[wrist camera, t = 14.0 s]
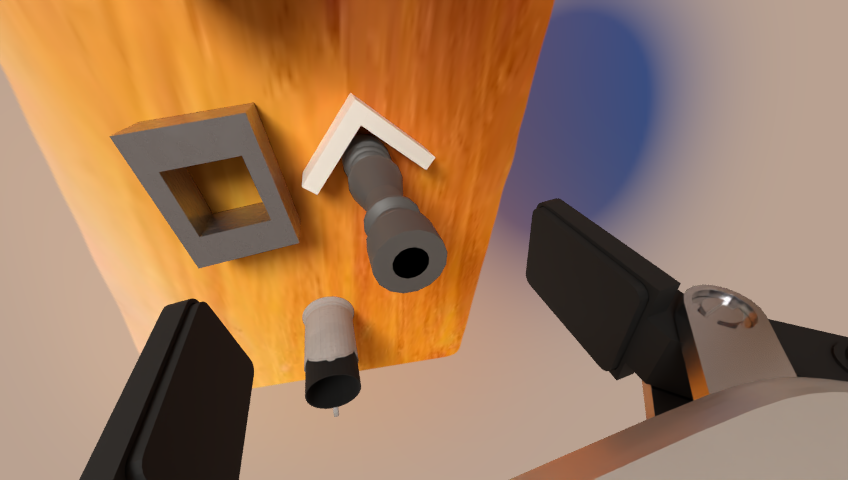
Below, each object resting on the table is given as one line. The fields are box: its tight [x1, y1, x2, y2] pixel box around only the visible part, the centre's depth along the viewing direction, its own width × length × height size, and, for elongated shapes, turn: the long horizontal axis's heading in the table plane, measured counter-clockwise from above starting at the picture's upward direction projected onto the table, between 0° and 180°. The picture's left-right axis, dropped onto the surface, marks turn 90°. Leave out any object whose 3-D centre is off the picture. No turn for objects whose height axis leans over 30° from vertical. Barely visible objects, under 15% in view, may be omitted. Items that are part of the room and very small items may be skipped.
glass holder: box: [303, 297, 361, 417], centre depth 51 cm, size 9×14×15 cm, turn 175°
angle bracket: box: [302, 93, 435, 195], centre depth 39 cm, size 10×17×5 cm, turn 97°
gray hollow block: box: [110, 103, 301, 268], centre depth 37 cm, size 16×12×6 cm
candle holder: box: [342, 134, 447, 293], centre depth 33 cm, size 6×6×25 cm
